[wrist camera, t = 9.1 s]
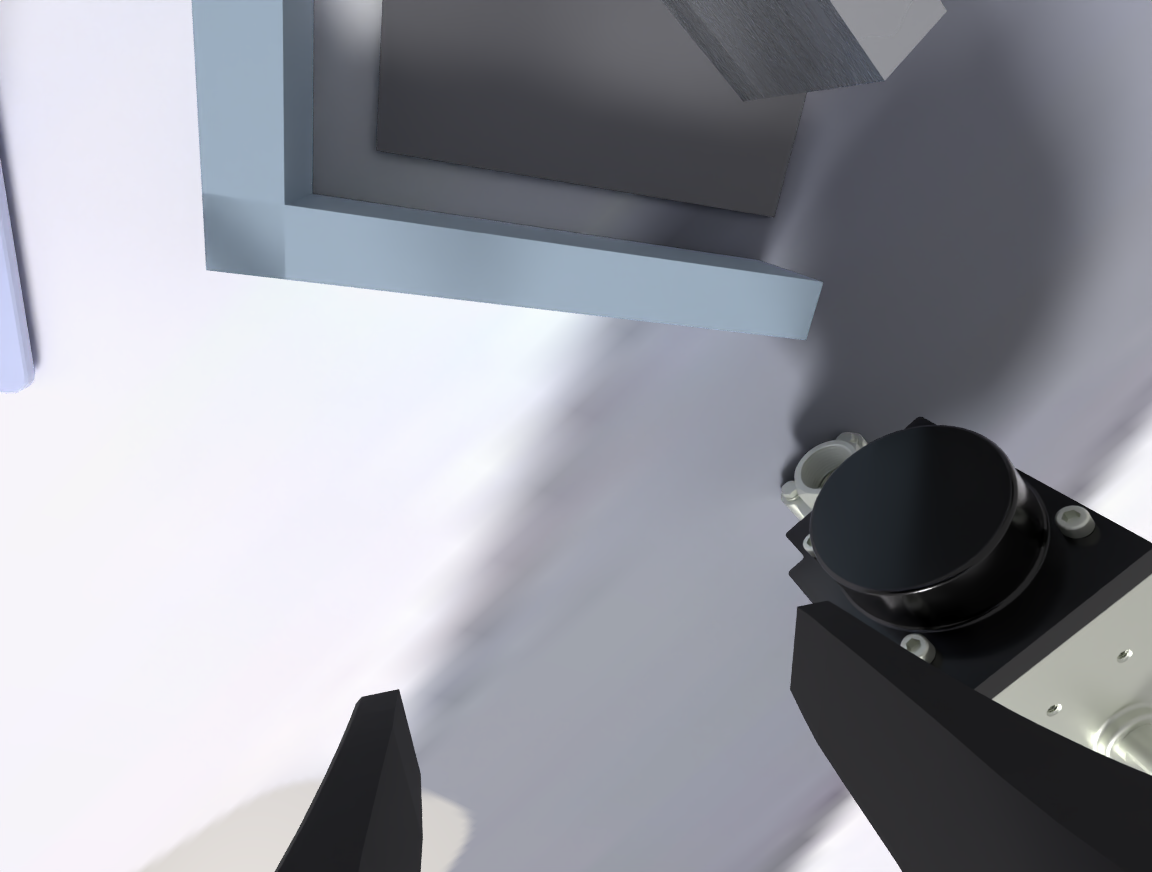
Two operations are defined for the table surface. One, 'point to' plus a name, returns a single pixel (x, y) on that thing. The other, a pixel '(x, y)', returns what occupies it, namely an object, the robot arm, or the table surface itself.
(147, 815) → the table surface
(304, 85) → the corner walls
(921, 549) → the pneumatic valve
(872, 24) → the angle bracket
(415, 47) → the pad
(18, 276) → the robot arm
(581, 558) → the table surface
